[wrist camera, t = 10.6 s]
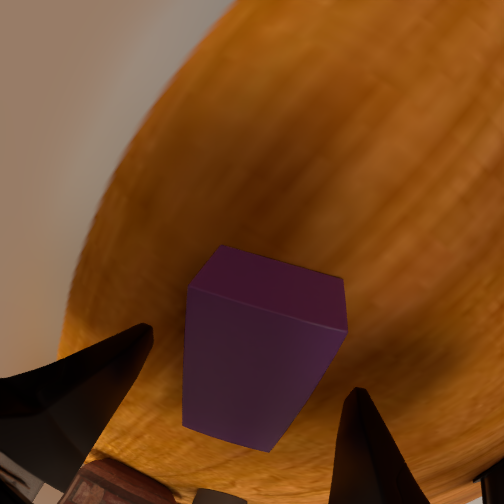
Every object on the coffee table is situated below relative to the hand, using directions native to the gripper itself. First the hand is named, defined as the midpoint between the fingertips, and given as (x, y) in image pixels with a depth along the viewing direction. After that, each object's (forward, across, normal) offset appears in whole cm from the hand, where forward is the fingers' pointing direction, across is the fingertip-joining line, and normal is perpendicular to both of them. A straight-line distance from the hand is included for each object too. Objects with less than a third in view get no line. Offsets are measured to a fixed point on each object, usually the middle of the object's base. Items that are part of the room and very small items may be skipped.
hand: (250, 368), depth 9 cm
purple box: (+1, 0, 0) cm, 1 cm away
